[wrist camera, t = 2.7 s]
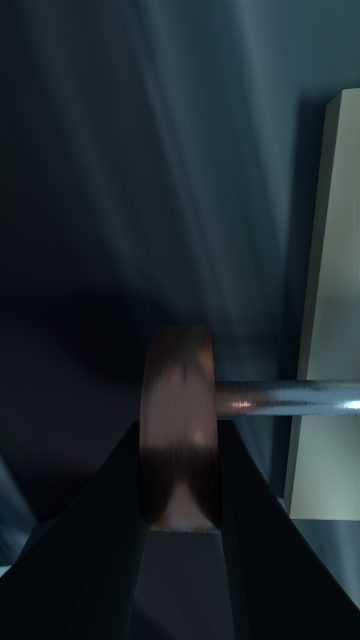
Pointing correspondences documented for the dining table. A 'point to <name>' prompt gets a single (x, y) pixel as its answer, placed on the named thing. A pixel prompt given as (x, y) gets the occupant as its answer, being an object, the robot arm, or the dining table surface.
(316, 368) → the eye bracket
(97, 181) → the dining table surface
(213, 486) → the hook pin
